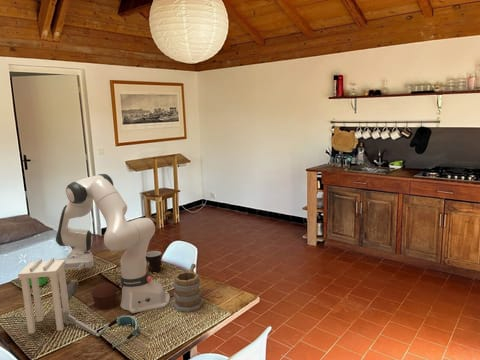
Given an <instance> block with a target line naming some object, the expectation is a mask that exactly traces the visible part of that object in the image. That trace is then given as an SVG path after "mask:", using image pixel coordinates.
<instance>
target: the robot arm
mask: <svg viewBox="0 0 480 360" xmlns="http://www.w3.org/2000/svg"><path fill="white" fill-rule="evenodd" d="M65 194H66V197H67V198H68V201H69V202H68V204H66V205H64V207H63V208H62V210H61V214H60V219H59V224H58V228H57V232H56V234H55V241H56V244H57V245H58V246H60V247H73V248H72V250H71V251H70V252H69V254H67V256H66V258H56V259H55V260H65V262H66V264H65V266H64V268H65V271H66V270H76V271H81V270H82V269H90V268H92V267H93V266H94V256H93V255H94V254H93V252H91V249H92V247H93V244H94V235H93V233H92V232H91V231H90V230H89V229H81V228H71V227H69V223H70V222H69V221H70V220H71V219H75V218H82V217H85V216H86V215H88V214H89V213H90V212H92V209H93V205H94V203H95V205H96V207H97V208H98V210H99V211H100V213H101V214H102V216H103V219H104V221H105V223H106V230H105V232H104V234H103V244H104V246H105V247H106V248H107V249H108V250H110V251H111V252H118V251H120V252H121V251H124V250H125V251H124V253H123V254H122V255H121V258H120V261H119V263H120V273H121V275H120V287H121V301H120V307H121V308H122V310H125V311H129V312H130V313H131V314H135V313H139V312H140V313H141V312H146V311H150V310H157V309H161V308H165V307H167V306H168V305H169V304H170V302H171V295H170V293H169V292H168V291H165V288H164V285H163V284H161V282H158V281H157V280H154V279H152V273H151V272H150V273H149V272H148V270H147V262H146V253H148V252H147V251H148V247H149V244H150V241H151V239H152V238H153V236H154V235H155V232H156V225H155V222H154V221H153V220H152V219H151V218H149V217H138V218H135V219H133V220H130V221H127V219H126V217H125V215H126V213H127V211H128V205H127V203H126V202H125V200H124V199H123V197H122V196H121V194H120V193H119V191H118V190H117V189H116V188H115V186H114V182H113V179H112V178H111V176H110V175H108V174H106V173H100V174H96V175H93V176H88V177H84V178H80V179H79V180H76V181H73V182H71V183H69V184H68V185H66V188H65Z"/></svg>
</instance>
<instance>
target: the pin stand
mask: <svg viewBox="0 0 480 360" xmlns="http://www.w3.org/2000/svg"><path fill="white" fill-rule="evenodd" d="M65 264H66V262H65V260H56V259H55V257H51V258H50V259H49V260H46V261H43V260H42V258H39V259H37V261H32V262H29V263H28V264H27V265H26V266H25V267H24V268H23V269H22V270H21V271H19V272H18V279H19V280H20V283H21V288H22V297H23V304H24V312H25V313H24V314H25V317H26V318H25V319H26V326H27V331H28V332H27V333H28V334H31V335H32V334H35V332H36V331H37V330H36V324H35V318H36V322H43V320H44V311H43V306H42V305H43V304H42V298H41V297H42V296H41V289H40V288H41V287H39V280H38V277H48V278H50V285H51V293H52V299H53V300H52V301H53V310H54V317H55V326H56V331H58V332H59V331H63V329H64V328H65V327H64V325H65V324H64V320H63V314H64V313H65V311H66V310H67V312H69V314H70V315H71V311H70V303H69V301H68V293H67V286H68V284H67V279H66V278H67V277H66V270H65V268H64V266H65ZM29 278H31V282H32V287H30V286H29ZM31 288H32V295H31ZM32 296H33V299H32ZM60 297H61V299H62V307H63V308H61V301H60ZM32 300H33V301H32ZM33 302H34V309H33ZM34 311H35V317H34Z"/></svg>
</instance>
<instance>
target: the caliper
mask: <svg viewBox="0 0 480 360" xmlns="http://www.w3.org/2000/svg"><path fill="white" fill-rule="evenodd" d="M62 317H63V325H67V326H68V325H70V323H71V324H72V325H74V326H75V325H76V326H78V327H80V328H81V329H83V330H85V331H86V332H88V333H89V334H91V335H93V336H96V337H97V336H98V334H99V333H98V331H97V330H94V329H93V328H92V327H90V326H89V325H87V324H85V323H83V322H82V321H80V320H78V319H77V318H76V317H75V316H73V315H71V313H70V314H69V312H67V310H66V311H65V313H64V314H63V313H62Z"/></svg>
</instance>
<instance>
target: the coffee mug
mask: <svg viewBox="0 0 480 360" xmlns="http://www.w3.org/2000/svg"><path fill="white" fill-rule="evenodd" d="M161 259H162V251H158V250H152V251H151V250H150V251H148V252H146V268H147V272H148V271H149V272H157V273H159V272H160V271H161V266H162V261H161ZM158 271H159V272H158Z"/></svg>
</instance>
